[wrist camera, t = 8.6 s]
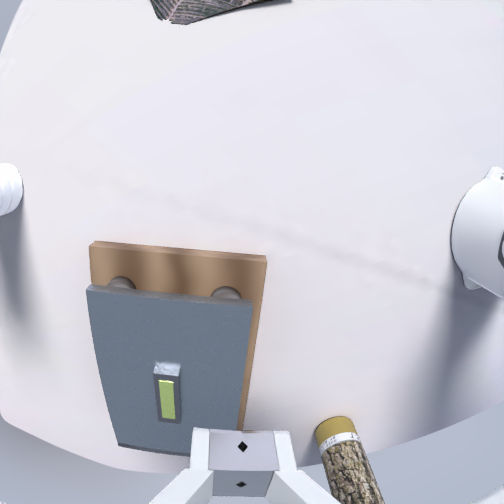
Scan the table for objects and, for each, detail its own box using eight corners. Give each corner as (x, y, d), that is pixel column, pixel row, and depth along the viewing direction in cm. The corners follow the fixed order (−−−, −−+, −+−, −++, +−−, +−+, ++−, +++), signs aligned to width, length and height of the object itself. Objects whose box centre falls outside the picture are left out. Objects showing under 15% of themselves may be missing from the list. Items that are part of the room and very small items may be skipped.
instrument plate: (251, 299, 32) (253, 312, 29) (231, 452, 40) (232, 466, 38) (91, 283, 30) (81, 294, 27) (121, 439, 38) (117, 452, 36)
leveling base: (265, 255, 36) (270, 271, 31) (239, 436, 46) (240, 457, 41) (95, 240, 34) (78, 254, 29) (121, 423, 44) (115, 443, 39)
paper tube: (317, 442, 48) (349, 560, 24) (310, 422, 46) (346, 553, 22) (353, 430, 48) (396, 544, 24) (350, 409, 45) (399, 535, 22)
